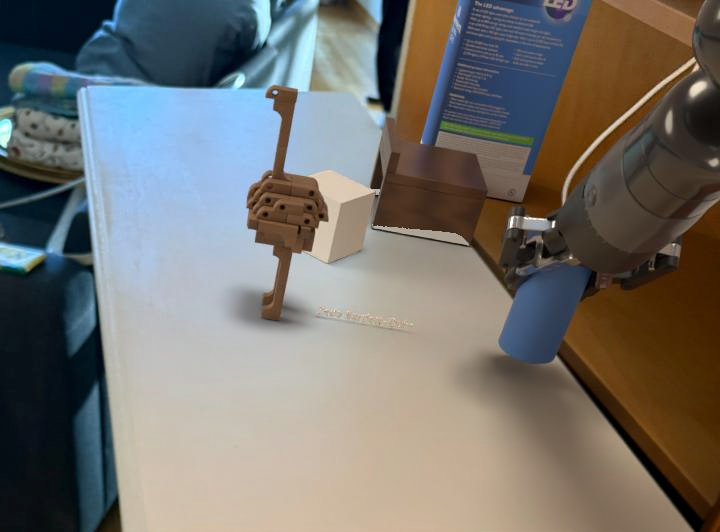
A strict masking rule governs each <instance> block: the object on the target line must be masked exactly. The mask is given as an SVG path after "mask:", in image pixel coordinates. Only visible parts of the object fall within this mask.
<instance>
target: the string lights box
mask: <svg viewBox="0 0 720 532" xmlns="http://www.w3.org/2000/svg"><path fill="white" fill-rule="evenodd" d="M593 2H594V0H458V1H457V4H456V8H455V12H454V13H455V14H454V15H453V20H452V24H451V27H450V31H449V35H448V38H447V42H446V46H445V50H444V54H443V58H442V61H441V64H440V69H439V73H438V76H437V79H436V84H435V88H434V91H433V94H432V98H431V103H430V106H429V110H428V113H427V117H426V121H425V125H424V129H423V131H422V134H421V135H422V136H421V140H420V143H421V144H426V145H431V146H437V147H442V148H447V149H453V150H458V151H463V152H468V153H474V154H476V155H477V158H478V161H479V165H480V168H481V171H482V174H483V177H484V180H485V183H486V186H487V189H488V193H487V196H486V198H487V197H488V198H493V199H498V200H505V201H510V202H516V203H523V200H524V197H525V195H526V191H527V189H528V186H529V183H530V179H531V177H532V175H533V171H534V168H535V165H536V163H537V160H538V157H539V154H540V151H541V148H542V145H543V144H544V143H543V142H544V140H545V137H546V134H547V131H548V128H549V125H550V123H551V120H552V117H553V114H554V111H555V109H556V106H557V103H558V100H559V98H560V95H561V91H562V89H563V86H564V83H565V81H566V78H567V75H568V72H569V70H570V66H571V63H572V61H573V59H574V55H575V54H576V53H575V52H576V49H577V47H578V45H579V41H580V39H581V36H582V34H583V30H584V28H585V24H586V22H587V19H588V16H589V13H590V10H591V7H592V5H593Z"/></svg>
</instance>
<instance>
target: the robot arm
mask: <svg viewBox="0 0 720 532" xmlns="http://www.w3.org/2000/svg"><path fill="white" fill-rule="evenodd" d="M691 51H692V55H693V58H694V60H695V62H696V63H697V66H698V68H699V69H695V70H694V71H691V72H690V73H688V74H686V75H685V76H684V77H682V78H681V79H680V80H679V81H678V82H676V83H675V84H674V85H673V86H672V87H671V88H670V89H668V91H667V92H666V93H665V94H664V95H663V96H662V97H661V99H659V101H658V102H657V103H656V104H655V105H654V106H653V107H652V109H650V111H648V113H647V114H646V115H645V116H644V117H643V118H642V119H641V120H640V121H639V122H638V123H637V124H636V125H635V126H634V127H632V128H631V129H629V130H627V132H626V133H625V134H623V135H622V136H621V137H620V138H619V139H618V140H616V142H615V143H614V144H613V145H612V146H610V148H609V149H608V150H607V151H606V152H605V154H604V155H603V156H602V157H601V158H600V159H599V160H598V161H597V162H596V163H595V165H593V166H592V168H591V169H590V170H589V171H588V172H587V173H586V174H585V175H584V176H583V178H582V179H581V180H579V182H578V183H577V184H576V185H575V186H574V187H573V188H572V190H571V191H570V192H569V195H568V196H567V197H566V199H565V201H564V203H563V204H562V206H561V207H560V208H558V209H555V210H552V211H550V212H548V213H547V214H546V215H545V216H544V218H543V217H542V218H541V217H531V216H530V214H526V213H527V208H526V207H525V206H523V205H513V206H511V207H510V208H509V211H508V214H507V219H506V221H505V224H504V228H503V232H502V235H501V241H500V244H501V245H500V250H499V257H498V259H497V268H499V269H501V270H504V271H505V272H504V278H503V282H504V284H507V290H512V291H517V290H518V288H519V287H520V286H521V285H522V284H523V283H524V282H525V281H526V280H527V279H528V278H529V277H530V276H531V274H533V273H535V272H538V271H541V272H543V273H546V274H547V273H550V272H553V271H555V270H558V269H561V268H563V267H566V266H570V267H574V266H576V265H579V266H582V267H585V268H590V269H592V270H593V271H592V274H591V276H590V278H589V281H588V283H587V285H586V288H585V290H584V292H583V294H582V297H581V299H580V301H579V302H583V301H585V299H587V298H590V297H594V296H595V295H596V294H597V293H599V292H600V291H601V290H603V291H604V290H609V289H611V288H612V285H619V289H620V290H622V291H634V290H636V289H638V288H640V287H643V286H644V285H648V284H649V283H651V282H653V281H655V280H658V279H660V278H662V277H664V276H667V275H668V274H671V273H673V272H675V271H678V269H679V264H680V263H679V262H680V256H681V250H682V244H683V237H684V236H683V234H684V233H685V232H687V231H688V230H689V229H690V228H691V227H693V226H694V224H696V223H697V222H698V221H699V220H700V219H701V218H702V217H703V215H704V214H705V213H706V212H707V211H708V210H709V209H710V208H711V207H713V206H714V205H715V204H716V203H718V202H719V201H720V0H704V1H703V4H702V5H701V7H700V9H699V11H698V14H697V17H696V20H695V22H694V25H693V30H692V35H691ZM535 250H536V251H535ZM534 255H535V256H534Z"/></svg>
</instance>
